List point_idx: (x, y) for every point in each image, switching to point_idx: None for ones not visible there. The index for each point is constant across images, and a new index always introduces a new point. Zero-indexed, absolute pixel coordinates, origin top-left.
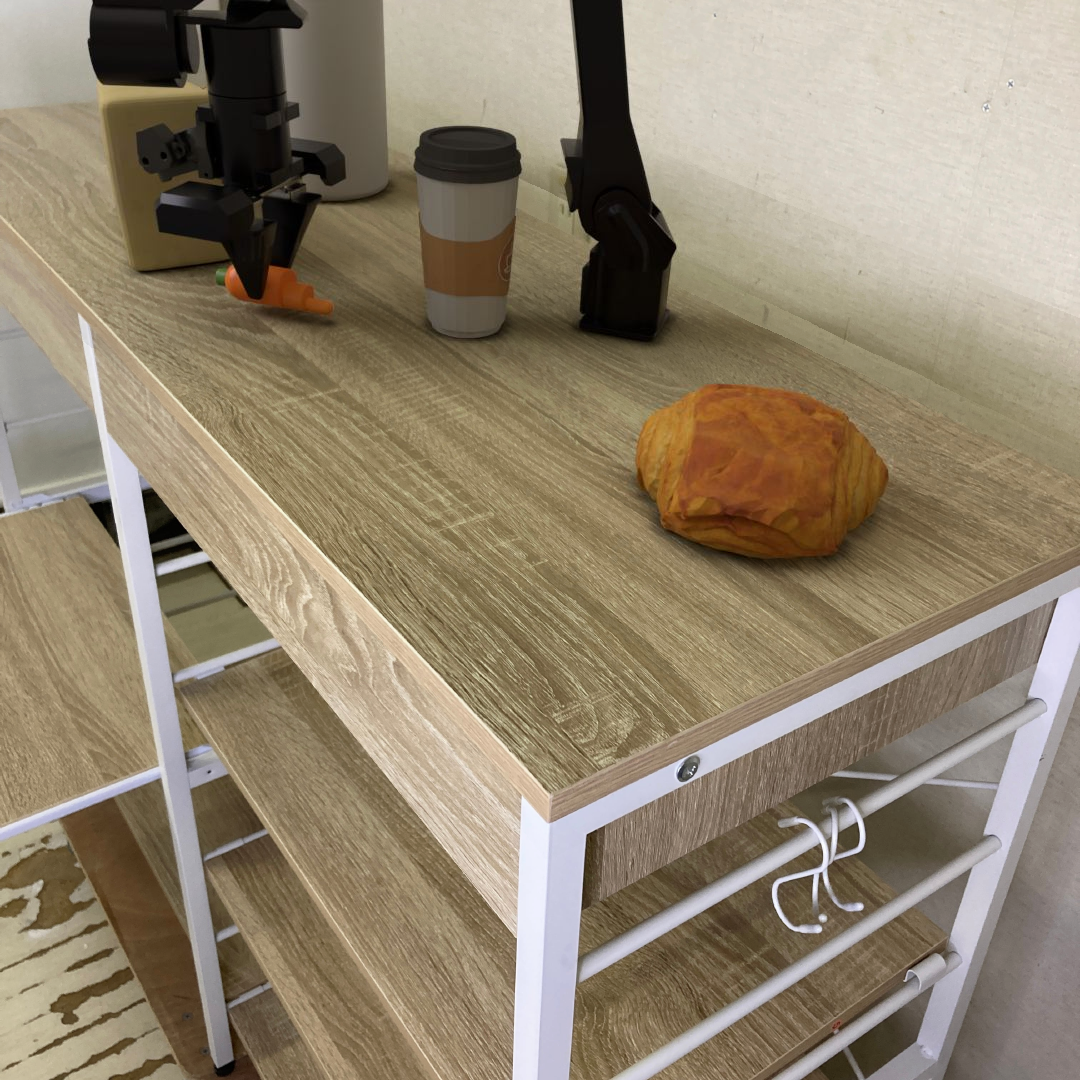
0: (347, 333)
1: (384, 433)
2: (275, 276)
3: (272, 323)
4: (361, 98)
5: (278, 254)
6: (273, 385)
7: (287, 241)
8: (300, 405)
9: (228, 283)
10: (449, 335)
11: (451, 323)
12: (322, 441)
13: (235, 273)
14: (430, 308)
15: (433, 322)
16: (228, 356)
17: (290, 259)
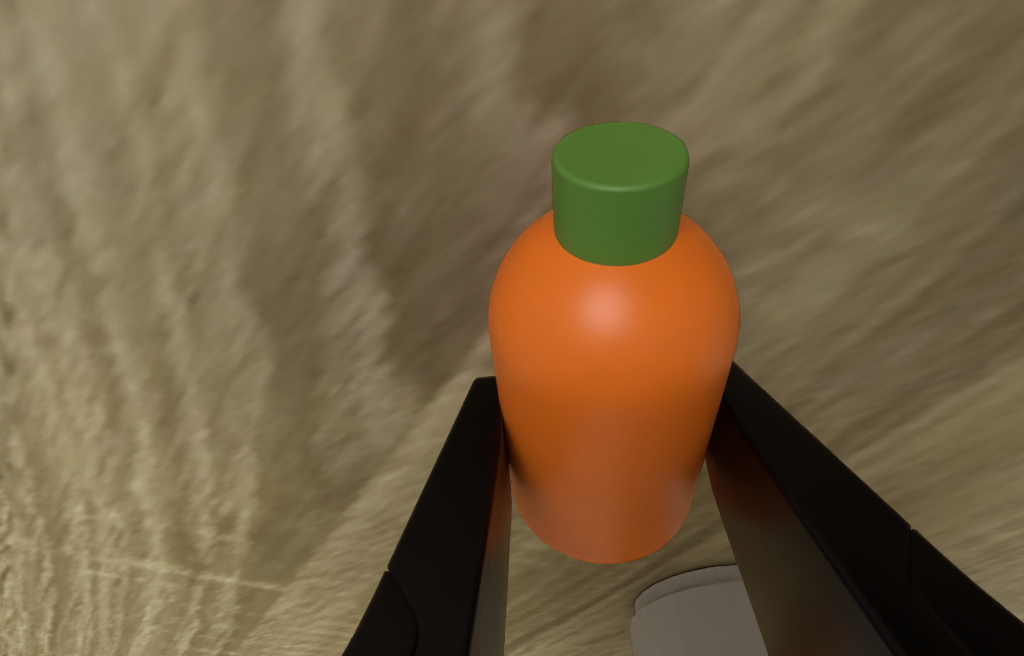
0: None
1: (215, 653)
2: (556, 536)
3: None
4: None
5: (753, 538)
6: (167, 526)
7: (784, 651)
8: (157, 580)
9: (495, 303)
10: (636, 601)
11: (632, 641)
12: (104, 631)
13: (525, 385)
14: (666, 636)
15: (650, 607)
16: (172, 390)
17: (734, 553)
